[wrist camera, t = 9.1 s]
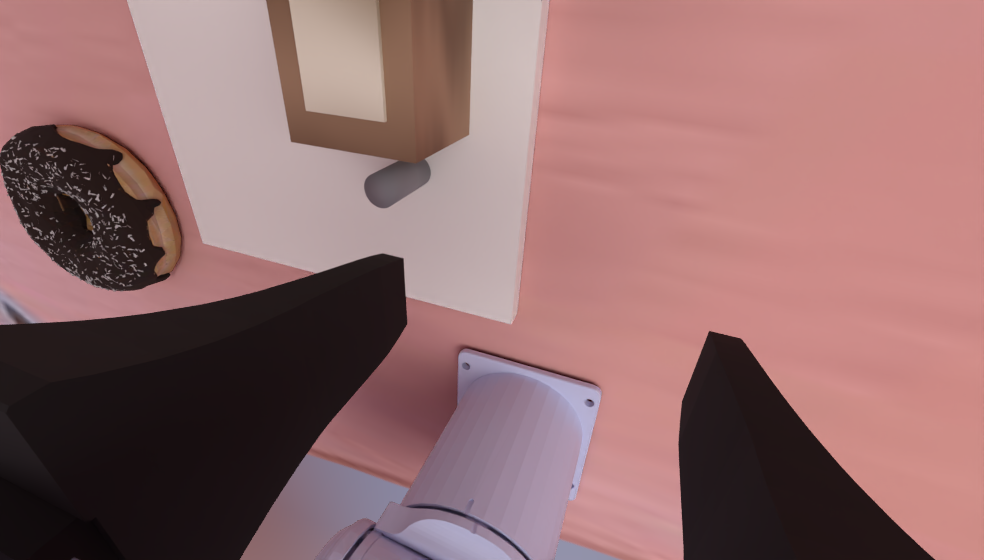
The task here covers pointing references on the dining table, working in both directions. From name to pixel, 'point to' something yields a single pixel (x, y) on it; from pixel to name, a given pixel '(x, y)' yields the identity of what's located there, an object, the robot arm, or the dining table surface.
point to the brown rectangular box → (375, 73)
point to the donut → (91, 206)
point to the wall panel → (351, 156)
